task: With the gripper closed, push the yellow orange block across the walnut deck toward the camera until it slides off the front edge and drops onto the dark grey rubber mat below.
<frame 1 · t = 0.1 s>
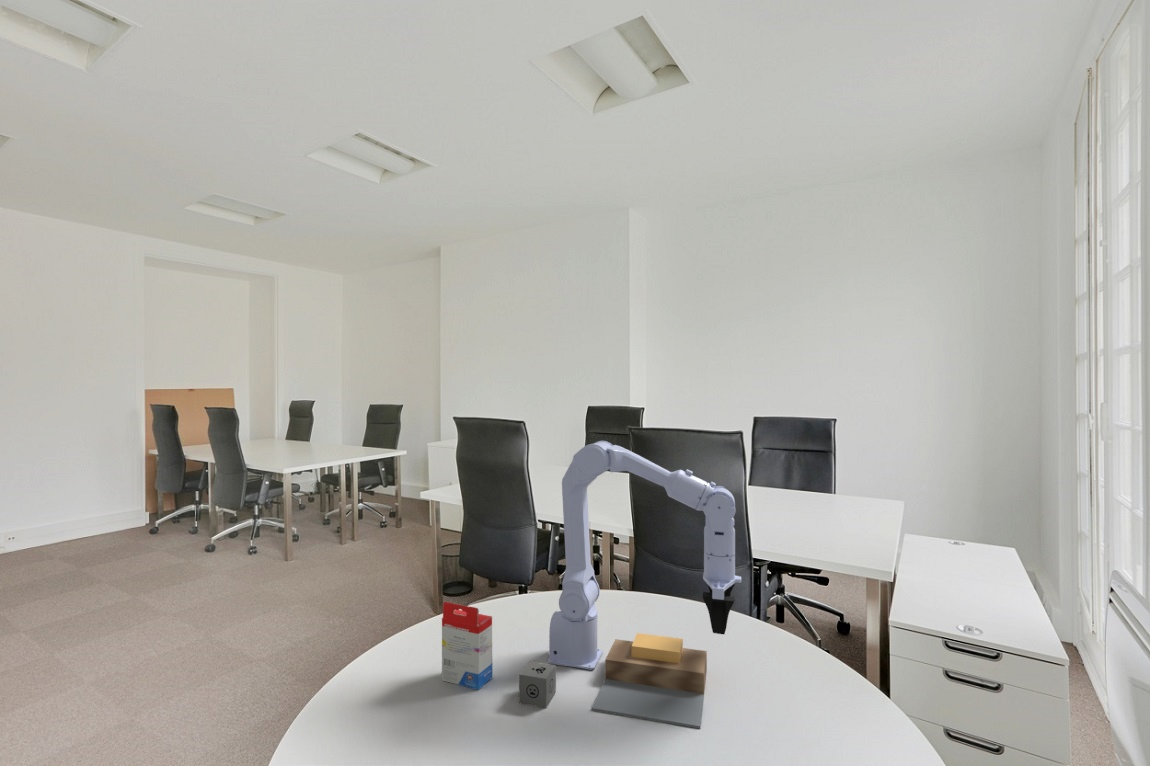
hand: (719, 624, 104), 10 cm above the table, tool pointing down, fingers open, 7 cm apart
dice cube: (537, 699, 97), on the table
yellow orange block: (657, 652, 106), point 4 cm above the table, touching deck
ink box: (466, 680, 103), on the table
deck: (656, 676, 105), on the table
mat: (649, 701, 96), on the table
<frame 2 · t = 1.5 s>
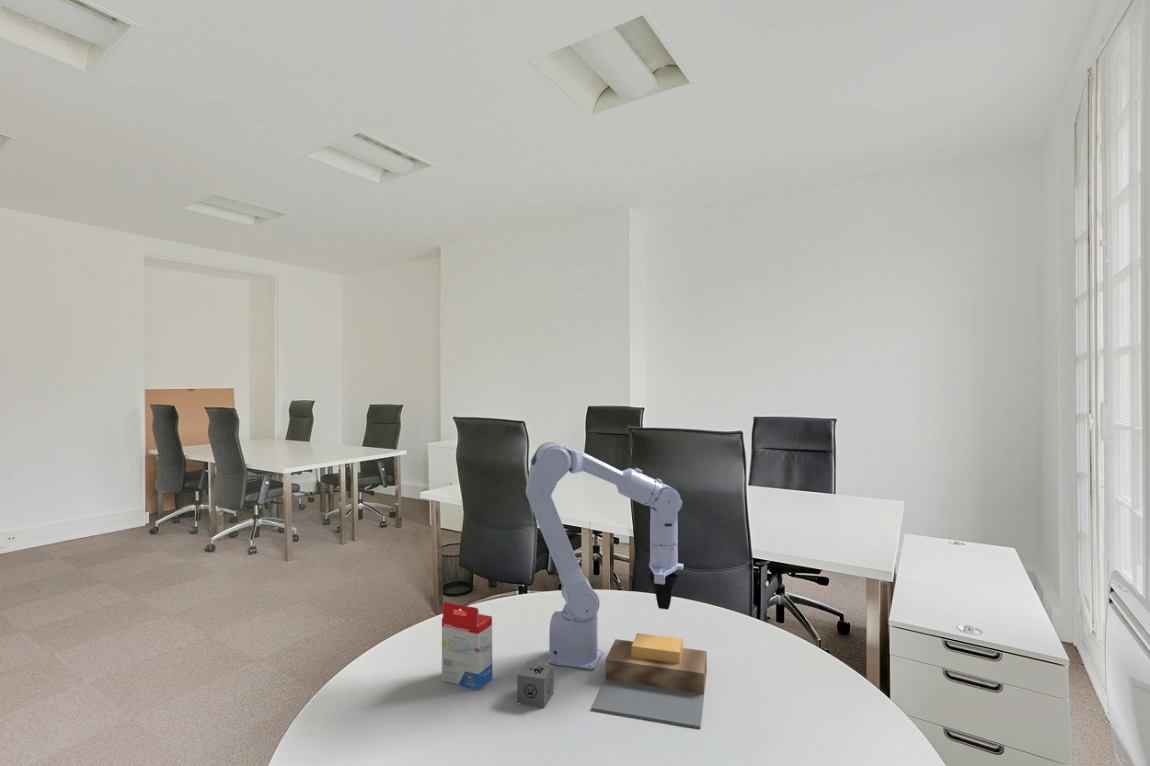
hand: (663, 607, 115), 9 cm above the table, tool pointing down, fingers closed
nothing on the table moved.
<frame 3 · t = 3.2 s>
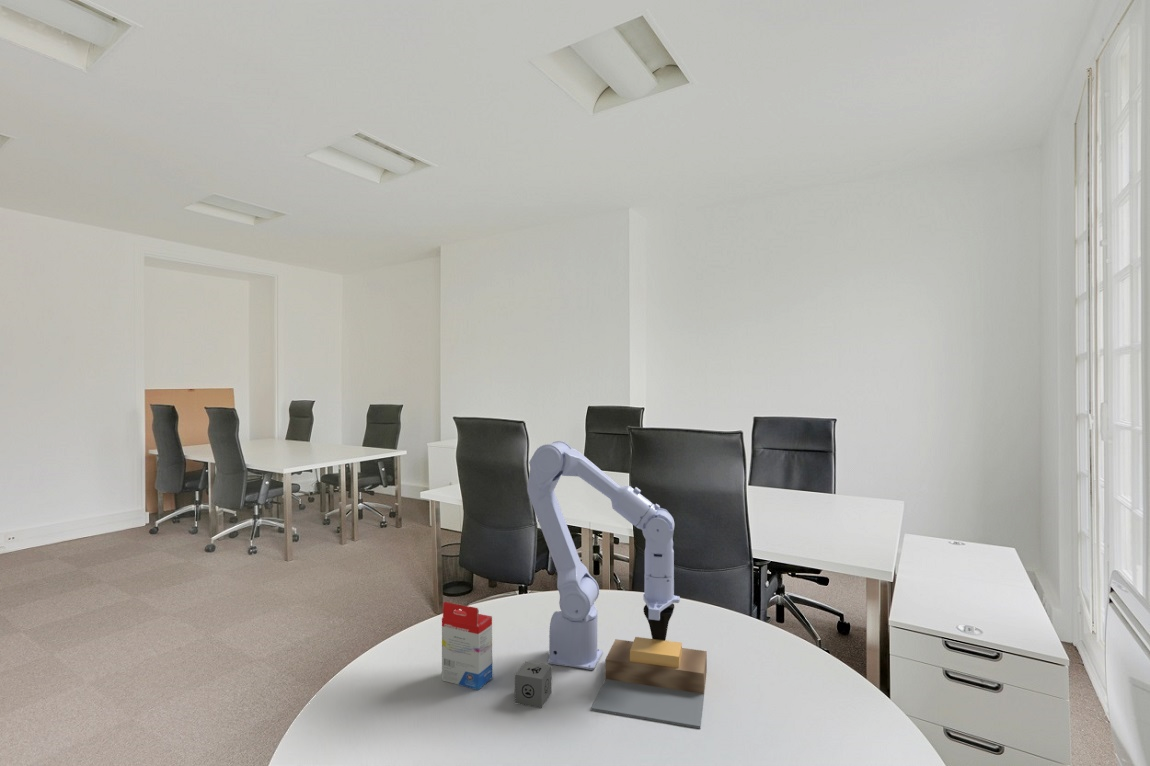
hand: (659, 643, 108), 5 cm above the table, tool pointing down, fingers closed
yellow orange block: (656, 657, 104), point 4 cm above the table, touching deck, gripper
everything else where it was.
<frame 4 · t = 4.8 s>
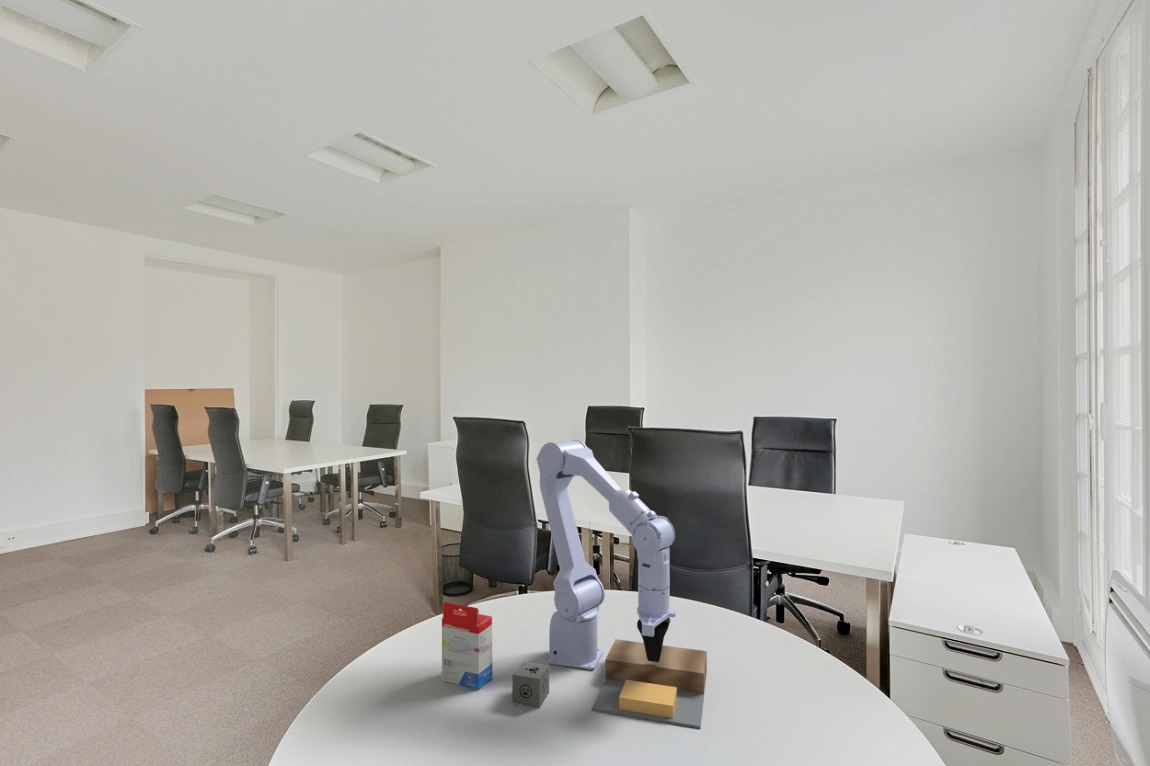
hand: (653, 660, 101), 5 cm above the table, tool pointing down, fingers closed
yellow orange block: (648, 692, 95), point 2 cm above the table, tilted 180°, touching mat
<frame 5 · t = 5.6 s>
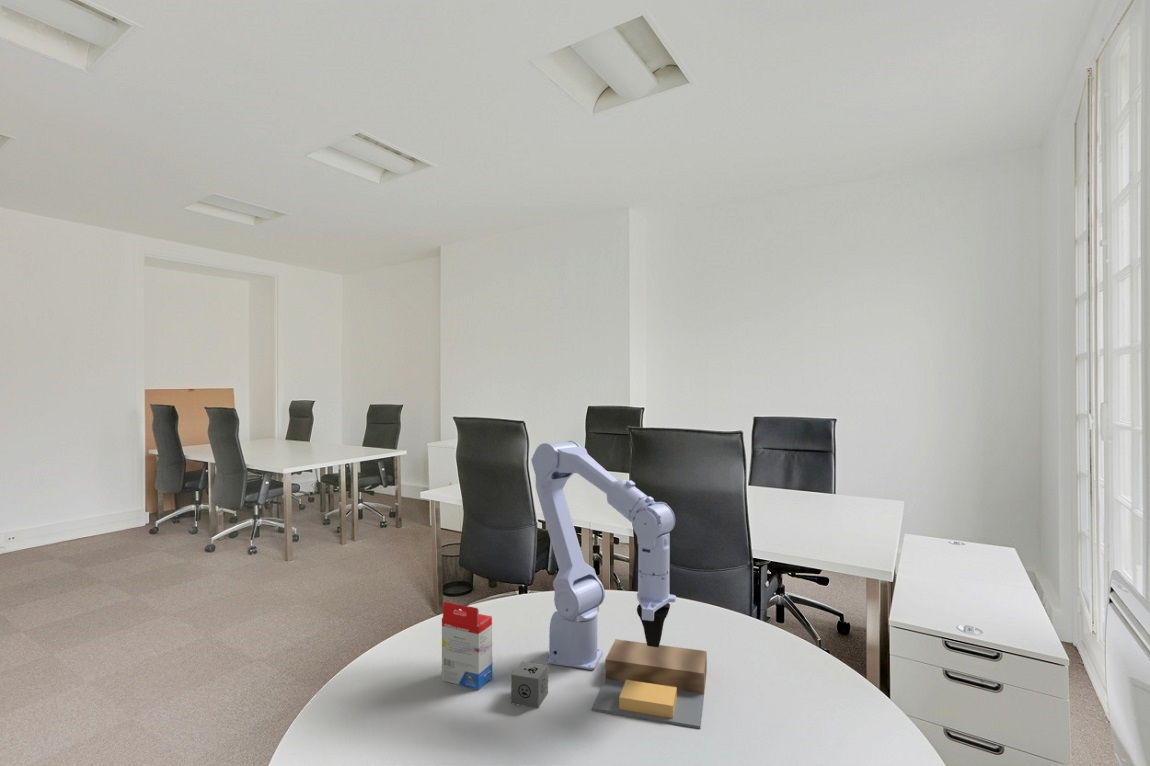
hand: (653, 645, 101), 8 cm above the table, tool pointing down, fingers closed
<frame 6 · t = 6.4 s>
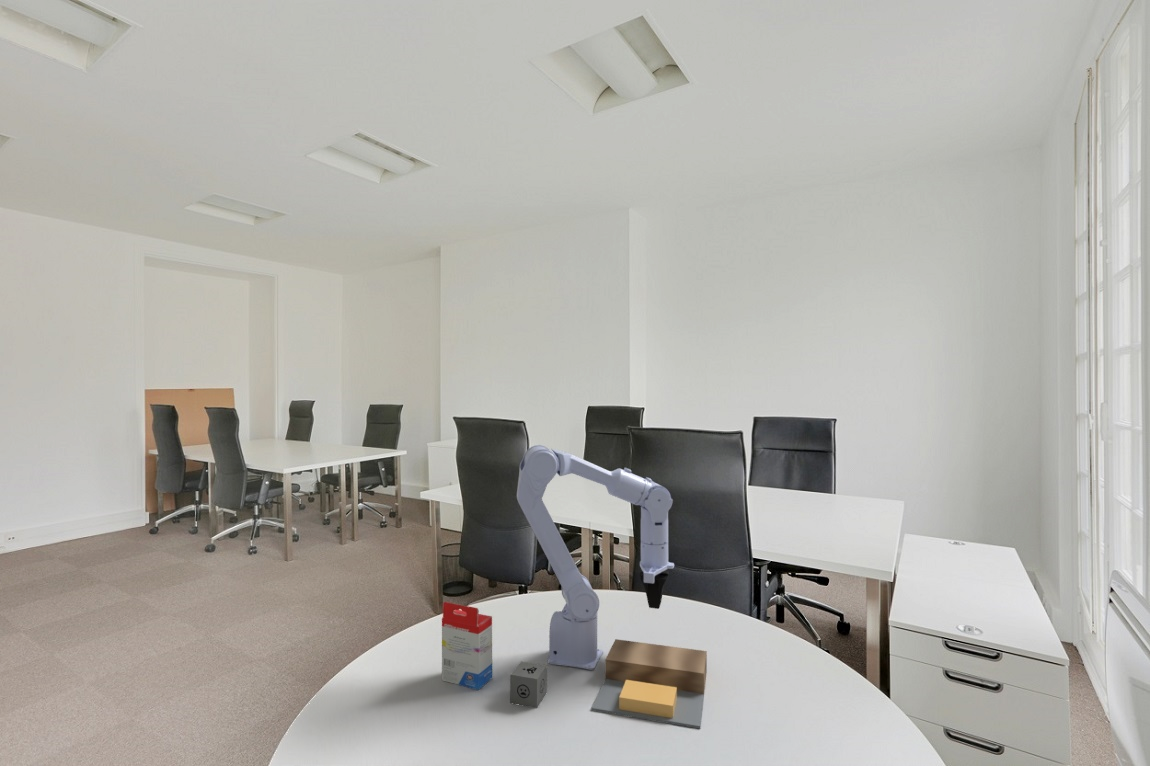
hand: (654, 607, 114), 9 cm above the table, tool pointing down, fingers closed
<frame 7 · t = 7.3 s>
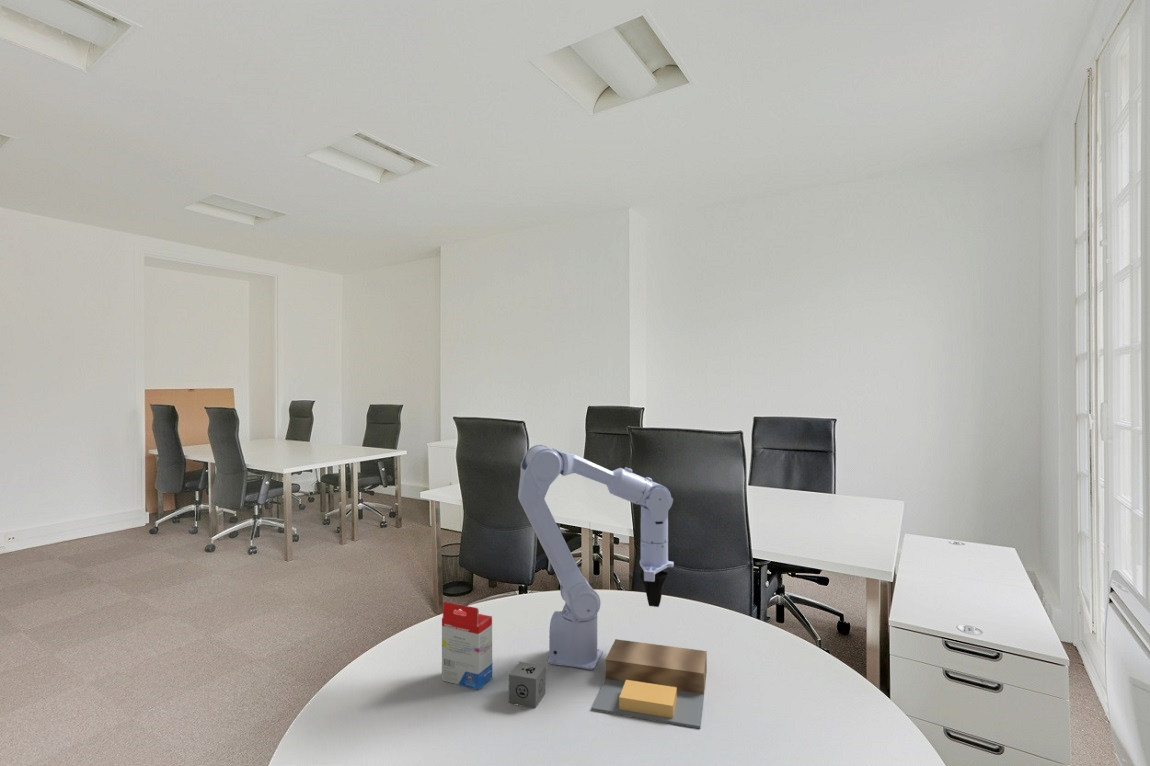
hand: (654, 605, 115), 9 cm above the table, tool pointing down, fingers closed
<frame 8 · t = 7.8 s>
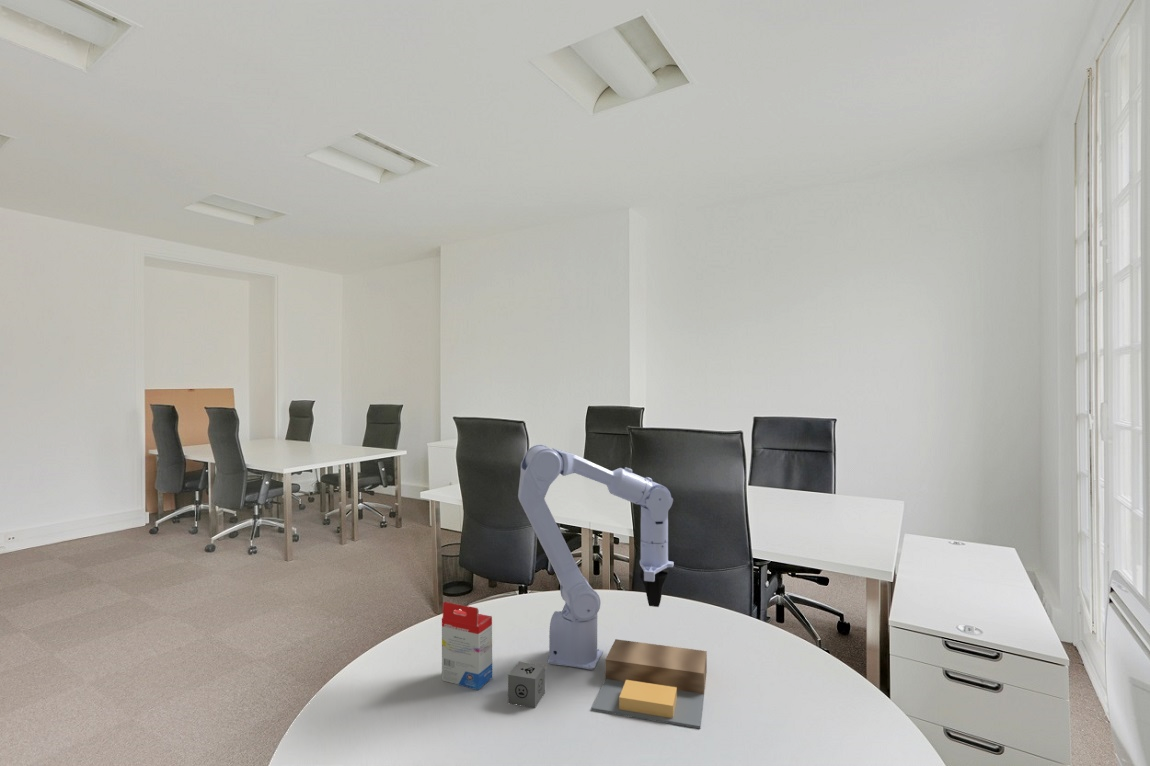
hand: (654, 605, 115), 9 cm above the table, tool pointing down, fingers closed
at the end: yellow orange block point 2.4 cm above the table; yellow orange block inside the target area on the mat (1.2 cm from its centre), point 2.4 cm above the mat's base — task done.
